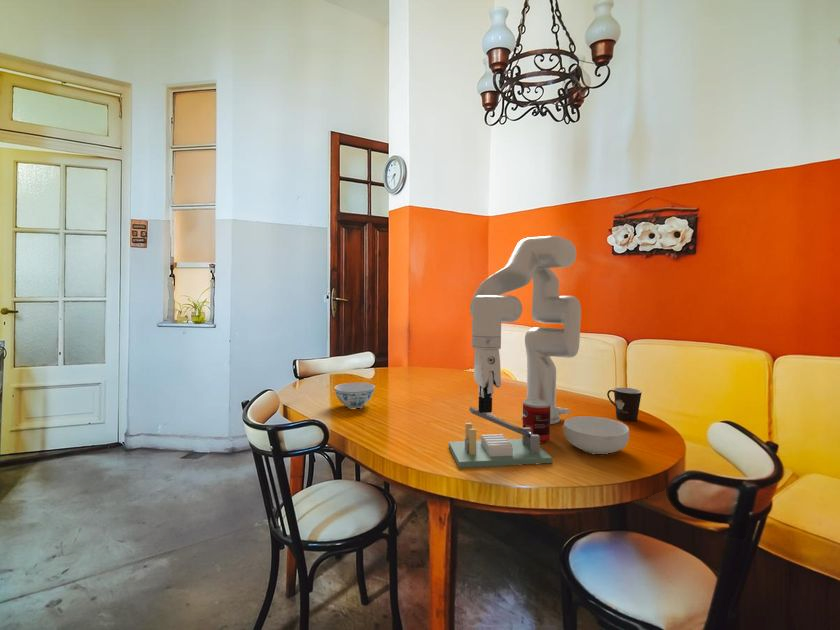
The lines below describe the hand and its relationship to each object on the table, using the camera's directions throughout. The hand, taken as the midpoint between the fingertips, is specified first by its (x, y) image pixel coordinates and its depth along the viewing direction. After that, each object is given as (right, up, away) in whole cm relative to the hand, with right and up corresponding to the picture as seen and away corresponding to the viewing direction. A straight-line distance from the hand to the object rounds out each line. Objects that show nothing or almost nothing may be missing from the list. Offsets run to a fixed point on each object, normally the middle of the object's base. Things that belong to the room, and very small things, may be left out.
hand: (485, 411), depth 109 cm
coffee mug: (+54, -11, +35) cm, 65 cm away
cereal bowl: (+31, -12, +5) cm, 34 cm away
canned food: (+17, -12, +14) cm, 25 cm away
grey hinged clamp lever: (+4, -4, +1) cm, 6 cm away
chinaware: (-42, -10, +47) cm, 64 cm away
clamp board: (+4, -12, +1) cm, 12 cm away
